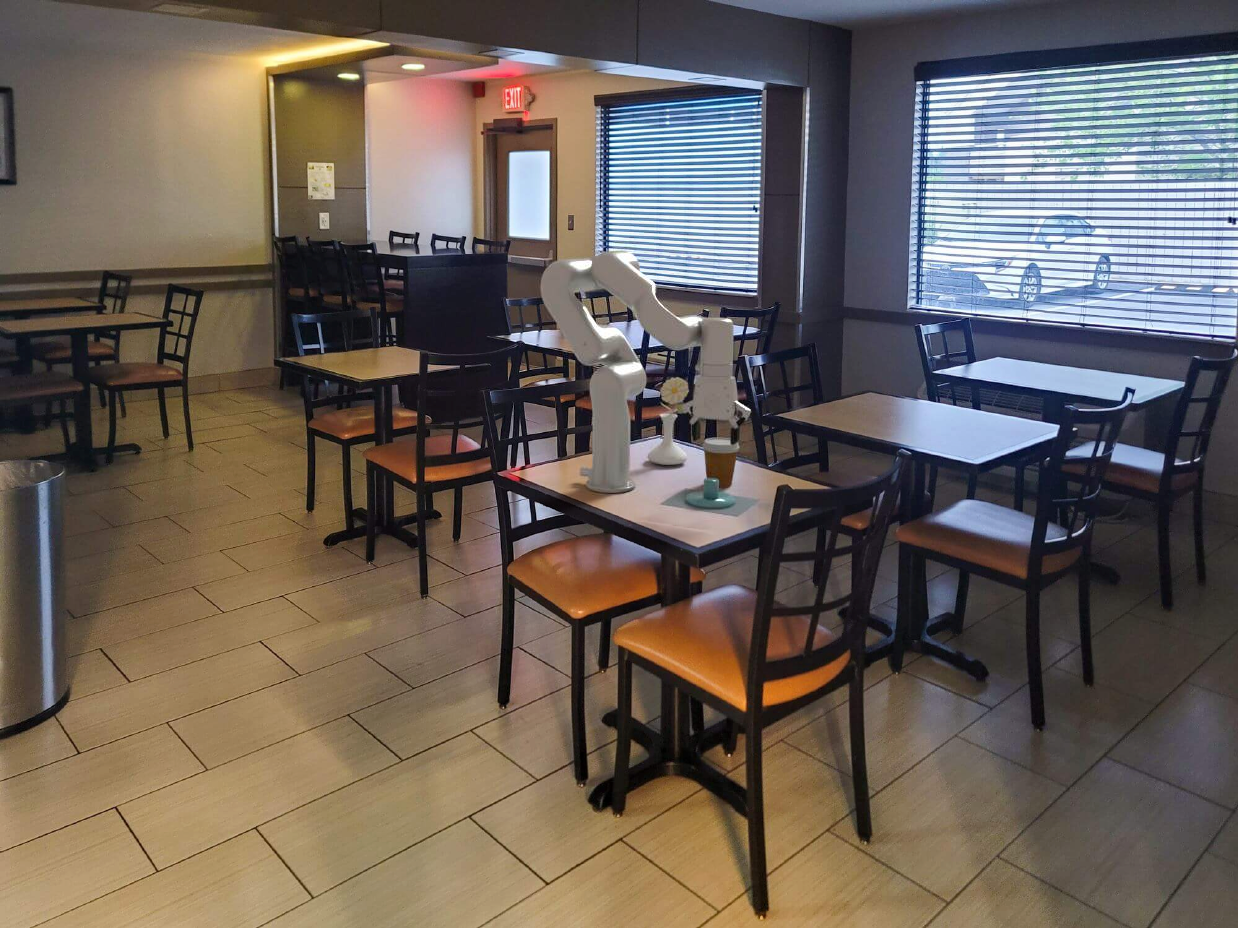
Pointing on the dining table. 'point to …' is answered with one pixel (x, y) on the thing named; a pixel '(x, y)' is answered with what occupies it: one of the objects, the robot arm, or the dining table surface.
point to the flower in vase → (670, 424)
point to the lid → (710, 496)
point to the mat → (734, 510)
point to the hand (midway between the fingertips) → (715, 441)
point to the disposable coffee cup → (720, 460)
